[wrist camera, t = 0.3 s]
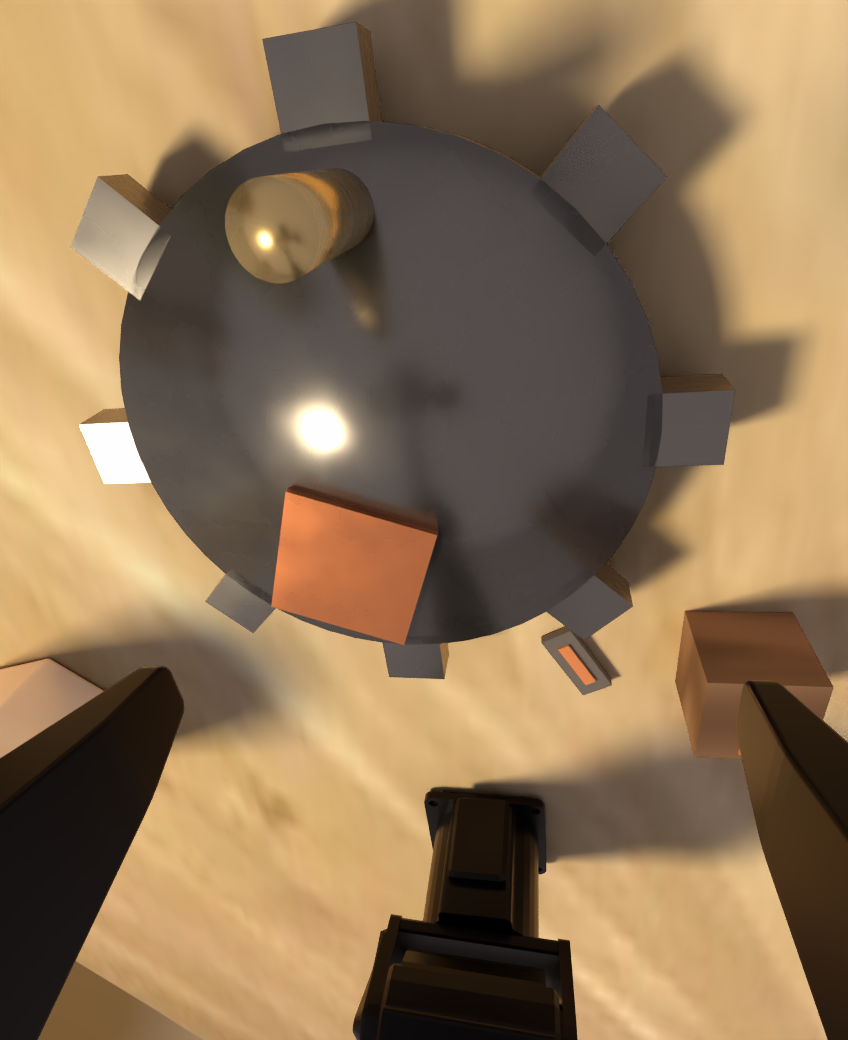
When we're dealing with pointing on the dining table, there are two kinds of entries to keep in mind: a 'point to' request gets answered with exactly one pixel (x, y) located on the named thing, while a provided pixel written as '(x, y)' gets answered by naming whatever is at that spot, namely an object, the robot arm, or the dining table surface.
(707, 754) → the link block
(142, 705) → the robot arm
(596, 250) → the sprocket
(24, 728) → the jar
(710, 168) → the dining table surface
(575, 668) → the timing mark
